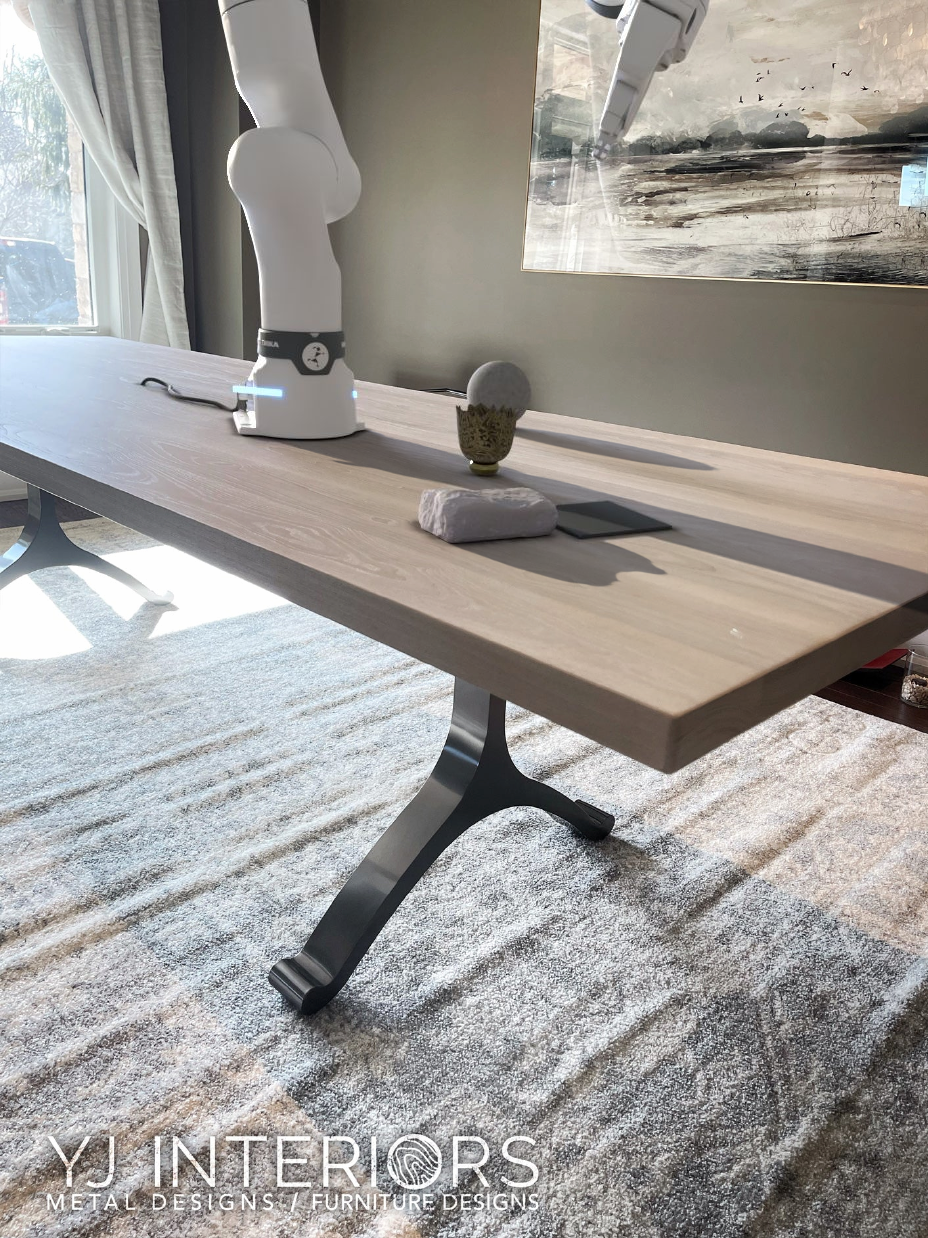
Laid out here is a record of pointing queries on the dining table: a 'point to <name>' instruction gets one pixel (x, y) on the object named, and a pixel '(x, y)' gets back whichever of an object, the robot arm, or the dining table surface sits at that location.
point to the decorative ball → (500, 387)
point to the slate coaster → (603, 520)
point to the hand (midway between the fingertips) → (601, 145)
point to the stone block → (486, 514)
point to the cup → (485, 436)
